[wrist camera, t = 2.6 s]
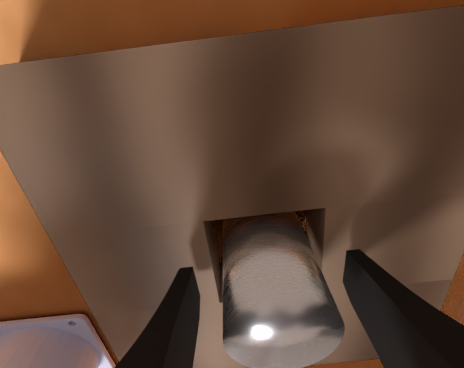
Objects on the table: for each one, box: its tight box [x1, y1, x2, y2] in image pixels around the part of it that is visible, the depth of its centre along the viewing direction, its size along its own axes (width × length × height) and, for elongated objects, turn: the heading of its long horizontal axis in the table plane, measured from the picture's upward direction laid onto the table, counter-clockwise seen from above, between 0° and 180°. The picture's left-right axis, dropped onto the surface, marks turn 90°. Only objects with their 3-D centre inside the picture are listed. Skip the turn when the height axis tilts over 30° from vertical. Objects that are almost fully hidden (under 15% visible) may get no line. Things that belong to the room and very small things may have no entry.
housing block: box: [0, 5, 464, 368], centre depth 14 cm, size 20×20×3 cm
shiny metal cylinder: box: [223, 211, 345, 368], centre depth 13 cm, size 4×4×7 cm
